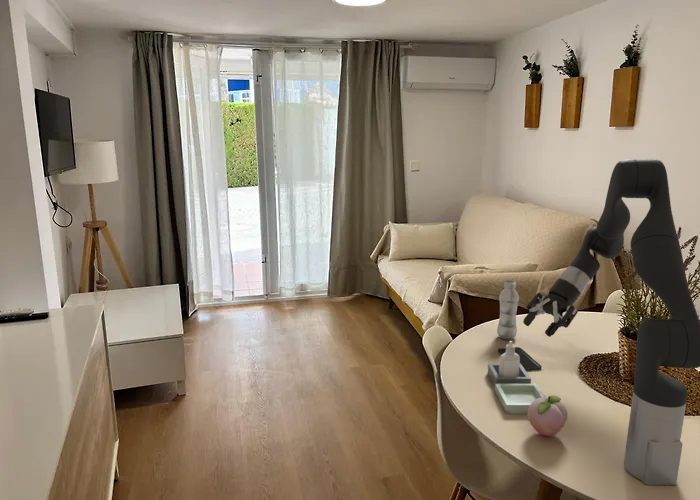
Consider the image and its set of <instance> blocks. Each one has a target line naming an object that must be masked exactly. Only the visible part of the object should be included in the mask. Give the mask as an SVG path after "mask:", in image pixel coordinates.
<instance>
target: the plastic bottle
mask: <svg viewBox="0 0 700 500" xmlns="http://www.w3.org/2000/svg"><path fill="white" fill-rule="evenodd" d="M516 284H517V282H516V281H515V280H511V279H507V280H504V284H503V287H504V288H503V289H502V291H500V293H499V297H498V298H499V320H498V325H497V329H496V332H497V335H498V337H499V338H501V339H503V340H508V341H511V340H513V339H515V337H516V336H517V333H518V329H517V310H518V306H519V305H518V304H519V300H520V296H519V293H518V291H517V290H516V288H517V286H516Z"/></svg>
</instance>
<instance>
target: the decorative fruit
mask: <svg viewBox="0 0 700 500" xmlns="http://www.w3.org/2000/svg"><path fill="white" fill-rule="evenodd" d="M561 400H562V399H561V397H560V396H558V395H548V396H547V397H546V396H545V397H541V398H538V399H536V400H534V401H533V402H532V403H531V405H530V406H529V408H528V414H527V419H528V421H529V423H530V426H532V428H533V429H534V430H535V431H536V432H537V433H538V434H540V435H541V436H546V437H551V436H552V437H553V436H555V435H557V434H558V433H559V432H561V430H562V429H563V427H564V426H565V424H566V422H567V419H568V410H567V407H566V405H564V404H563V403H562V402H561Z"/></svg>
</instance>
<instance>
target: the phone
mask: <svg viewBox="0 0 700 500" xmlns="http://www.w3.org/2000/svg"><path fill="white" fill-rule="evenodd" d="M505 352H506V347H500V348H498V349H497V353H498V354H499V355H500V356H501V355H502V354H504V353H505ZM515 353H517V354H518V355H519V356H520V363H521V365H522V366H523V368H524V369H525V371H526V372H533V371H532V370H535V371H542V369H543V368H542V365H541V364H540V363H538V361H537V360H535V359H534V358H533V357H531V356H530V354H528V353H527V352H526V350H524V349H522V347H519V346H515Z"/></svg>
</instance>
